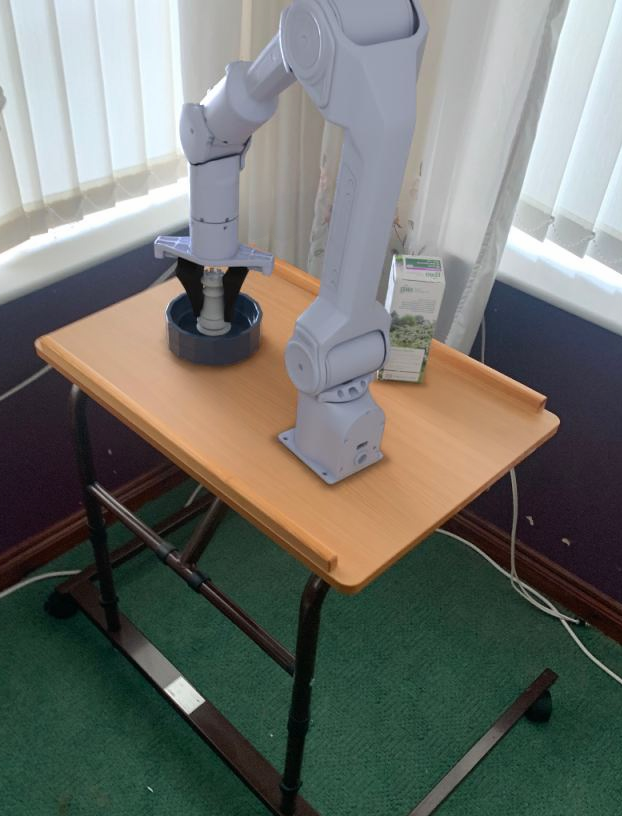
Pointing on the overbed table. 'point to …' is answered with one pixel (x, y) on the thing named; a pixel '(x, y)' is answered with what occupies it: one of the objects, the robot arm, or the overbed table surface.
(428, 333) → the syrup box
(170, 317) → the bowl
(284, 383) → the overbed table surface
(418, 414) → the overbed table surface
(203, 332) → the rook chess piece
